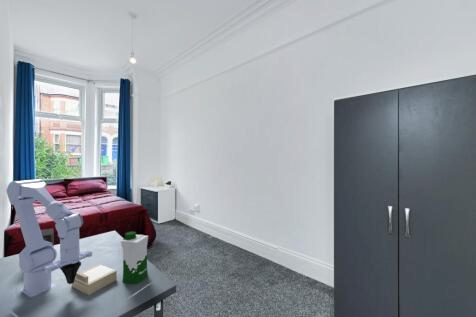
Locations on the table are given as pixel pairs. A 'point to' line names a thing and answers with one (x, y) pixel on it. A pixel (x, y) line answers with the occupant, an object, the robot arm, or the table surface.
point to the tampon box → (47, 237)
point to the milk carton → (134, 257)
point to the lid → (93, 274)
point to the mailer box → (95, 282)
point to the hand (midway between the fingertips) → (70, 282)
